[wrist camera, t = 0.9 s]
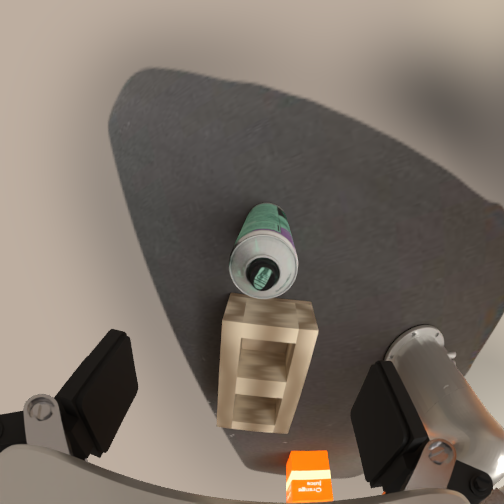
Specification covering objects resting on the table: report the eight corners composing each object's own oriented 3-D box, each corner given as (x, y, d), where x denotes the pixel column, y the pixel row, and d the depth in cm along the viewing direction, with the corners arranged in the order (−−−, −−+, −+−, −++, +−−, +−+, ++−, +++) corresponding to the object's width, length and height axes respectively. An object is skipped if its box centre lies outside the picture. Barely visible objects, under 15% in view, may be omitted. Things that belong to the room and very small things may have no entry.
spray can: (247, 242, 40) (226, 316, 21) (245, 203, 38) (218, 243, 19) (287, 241, 39) (301, 314, 20) (286, 201, 38) (302, 240, 19)
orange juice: (319, 464, 56) (325, 528, 37) (285, 465, 56) (285, 530, 37) (327, 450, 53) (335, 519, 34) (291, 450, 54) (292, 522, 35)
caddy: (311, 301, 42) (318, 330, 34) (286, 401, 48) (287, 433, 41) (230, 292, 42) (222, 320, 34) (223, 395, 49) (216, 426, 41)
